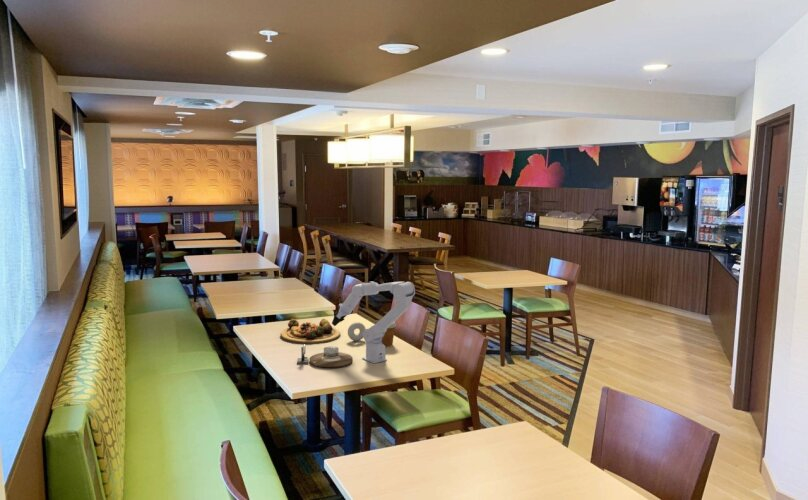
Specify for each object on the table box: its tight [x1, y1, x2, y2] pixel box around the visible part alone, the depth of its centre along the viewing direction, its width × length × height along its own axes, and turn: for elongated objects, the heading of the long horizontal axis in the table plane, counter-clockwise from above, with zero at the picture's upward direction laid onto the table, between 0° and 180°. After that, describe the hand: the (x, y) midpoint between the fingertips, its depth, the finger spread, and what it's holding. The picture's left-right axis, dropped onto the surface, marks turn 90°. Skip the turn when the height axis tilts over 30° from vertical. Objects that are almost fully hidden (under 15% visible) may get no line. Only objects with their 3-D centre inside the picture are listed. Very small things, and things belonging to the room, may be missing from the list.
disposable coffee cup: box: [381, 321, 397, 347], centre depth 302 cm, size 10×10×12 cm
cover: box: [323, 346, 339, 357], centre depth 279 cm, size 7×7×3 cm
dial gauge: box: [296, 344, 310, 365], centre depth 271 cm, size 5×5×8 cm
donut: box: [347, 321, 367, 342], centre depth 308 cm, size 10×4×10 cm, turn 113°
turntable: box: [309, 351, 354, 368], centre depth 273 cm, size 20×20×1 cm
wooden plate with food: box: [280, 318, 341, 345], centre depth 317 cm, size 32×32×8 cm
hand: (336, 321), depth 289 cm, fingers open, 7 cm apart
